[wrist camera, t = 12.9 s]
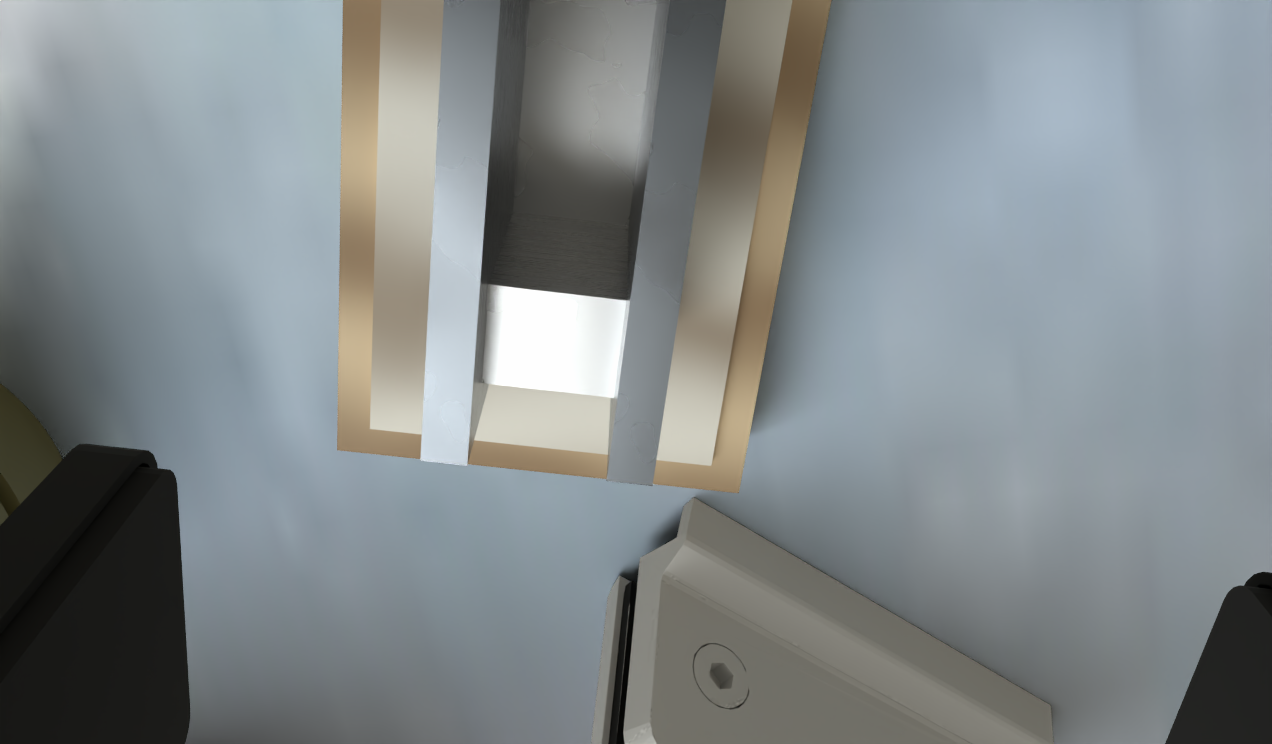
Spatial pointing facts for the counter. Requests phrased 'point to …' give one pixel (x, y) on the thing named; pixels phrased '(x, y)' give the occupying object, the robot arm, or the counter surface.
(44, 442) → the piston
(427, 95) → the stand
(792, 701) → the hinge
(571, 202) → the housing
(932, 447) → the counter surface
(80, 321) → the counter surface
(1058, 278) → the counter surface
